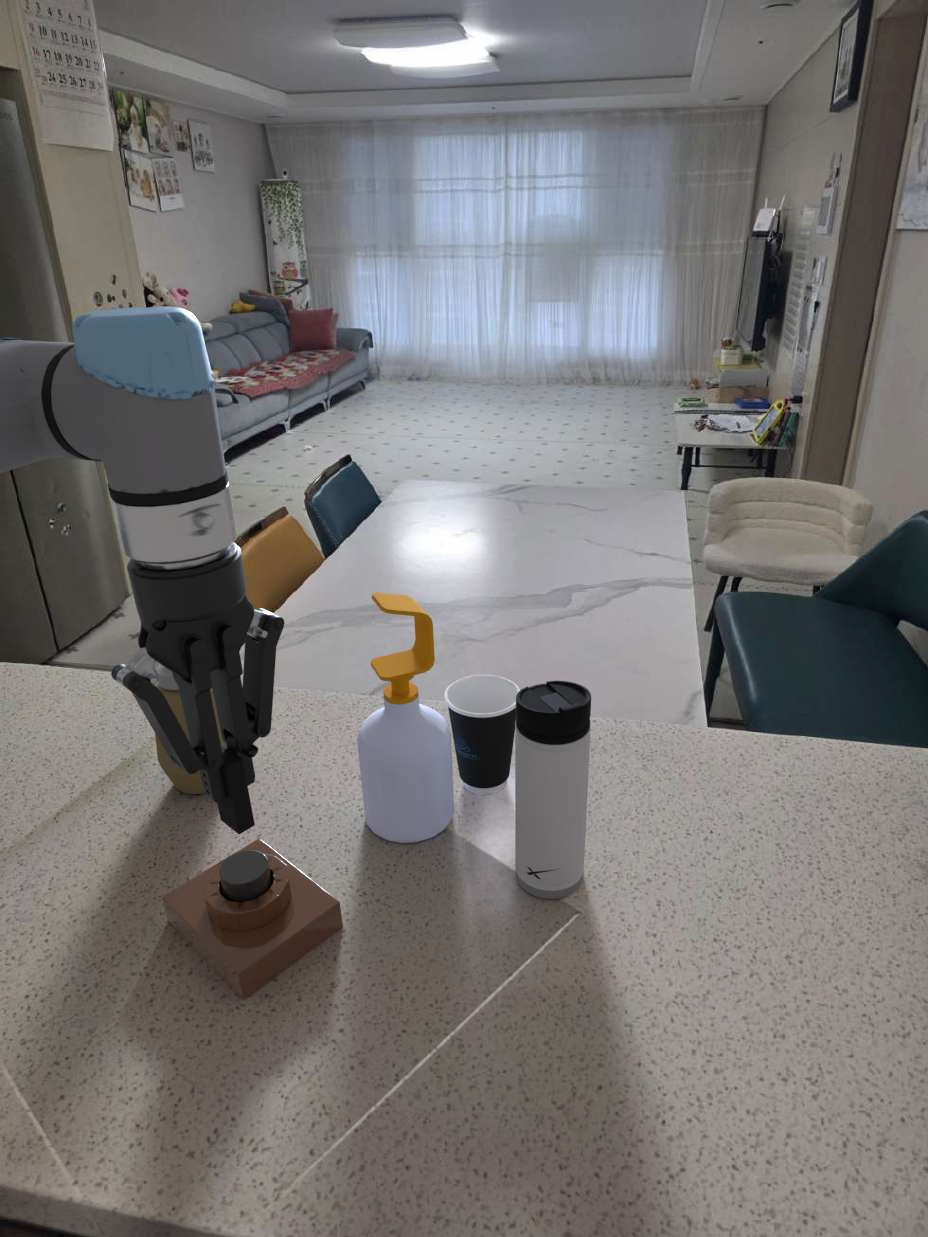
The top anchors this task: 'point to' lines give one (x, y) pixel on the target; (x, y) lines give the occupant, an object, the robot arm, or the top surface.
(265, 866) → the grey button cap
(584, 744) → the travel mug
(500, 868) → the top surface
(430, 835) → the soap bottle
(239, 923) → the button base
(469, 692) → the dixie cup
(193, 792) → the squeeze bottle
